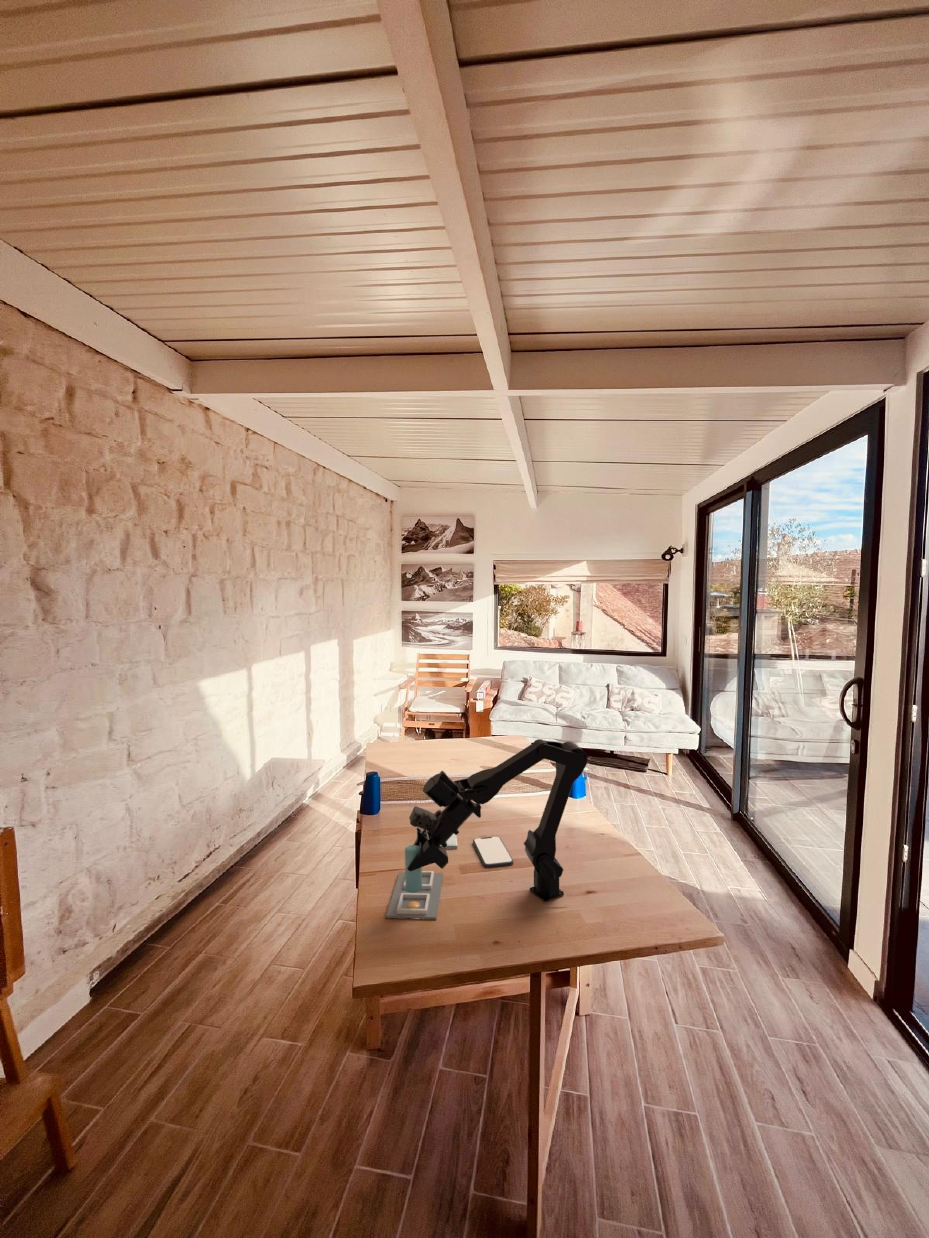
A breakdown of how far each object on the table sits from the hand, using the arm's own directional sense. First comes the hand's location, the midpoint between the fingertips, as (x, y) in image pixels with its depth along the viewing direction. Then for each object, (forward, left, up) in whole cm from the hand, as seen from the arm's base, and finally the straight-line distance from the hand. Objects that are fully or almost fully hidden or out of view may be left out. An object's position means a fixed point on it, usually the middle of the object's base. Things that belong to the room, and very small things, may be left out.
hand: (407, 865), depth 136 cm
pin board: (+4, -4, -11) cm, 12 cm away
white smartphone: (+12, -33, -11) cm, 37 cm away
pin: (-1, -1, -6) cm, 6 cm away
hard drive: (+27, -25, -12) cm, 39 cm away
